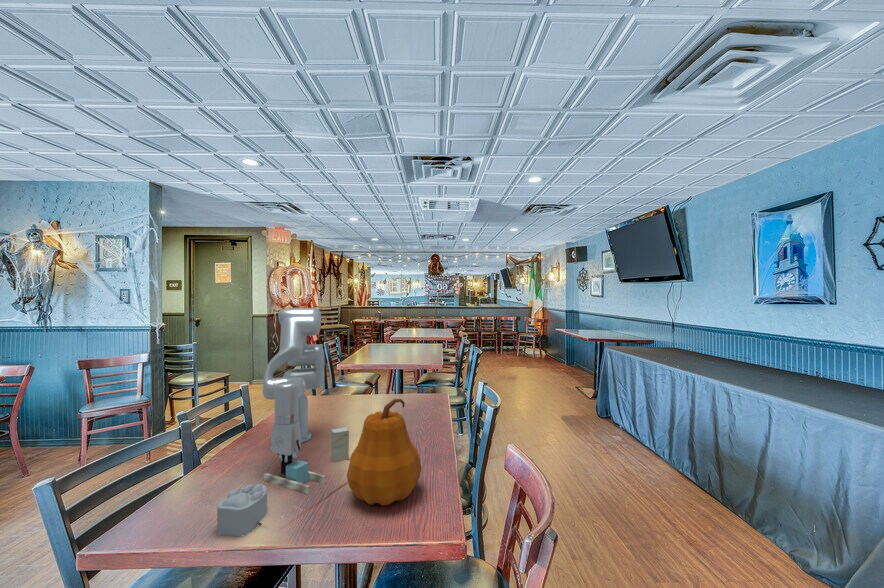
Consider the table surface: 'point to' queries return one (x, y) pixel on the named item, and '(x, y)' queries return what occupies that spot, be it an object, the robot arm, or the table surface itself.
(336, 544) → the table surface
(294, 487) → the twin rail frame
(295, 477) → the block
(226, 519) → the lumpy-topped squat cylinder
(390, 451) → the decorative pumpkin
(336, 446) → the skincare box
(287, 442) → the robot arm
